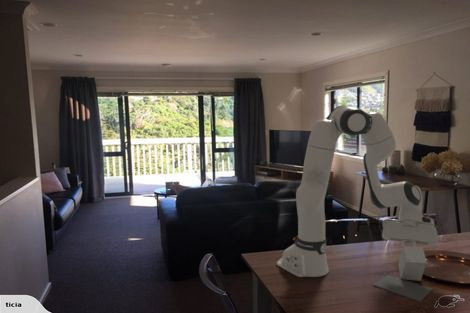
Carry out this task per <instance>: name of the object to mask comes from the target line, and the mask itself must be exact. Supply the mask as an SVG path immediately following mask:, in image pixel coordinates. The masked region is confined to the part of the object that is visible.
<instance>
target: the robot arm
mask: <svg viewBox="0 0 470 313" xmlns="http://www.w3.org/2000/svg"><path fill="white" fill-rule="evenodd" d="M342 134H345V135H348V136H353V137H354V136H359V135H360V136H361V138H362V139H363V142H364V145H365V150H366V152H365V153H364V155H363V158H362V159H363V160H362V161H363V167H364V172H365V176H366V180H367V185H368V189H369V196H370V201H371V204H372V205H374V206H375V207H376V208H378V209H380V210H382V209H386V208H388V209H389V208H391V207H399V211H398V218H397V219H395V218H394V219H393V218H392V219H391V218H386V219H384V220H383V221H382V227H383V228H382V233H381V237H382V239H383V240H387V241H392V242H399V243H401V245H402V247H403V246H407V245H406V244H411V246H413V247H417V245H422V246H428V247H429V246H430V247H436V246H437V245H438V244H439V242H438V240H439V239H438V231H437V228H436V226H435V221H434V220H435V219H433V218H430V217H427V216H424V215H423V213H422V210H423V193H422V190H421V189H420V187H419V186H417V185H415V184H413V183H411V182H410V181H407V180H405V181H399V182H398V181H397V182H393V183H388V184H383V183H381V181H380V177H379V172H378V165H380V164H382V162H385V161H386V160H387V159H389V158H390V157H391V156H392V155H393V153H394V152H395V151H396V147H397V144H396V143H397V142H396V138H395V136H394V135H393V132H392V129H391V127H390V126H389V124H388V121H387V120H386V119H385V117H384V116H383V114H381V113H380V112H378V111H371V112H365V111H364V109H361V108H359V107H355V106H353V105H338V106H336V107H334V109H332V110H331V112H330V113H329V115H327V117H325V118H324V119H322V118H321V119H319V120H316V121H315V122H314V124H313V126H312V128H311V131H310V133H309V137H308V142H307V144H306V145H307V146H306V149H305V156H304V162H303V169H302V175H301V182H300V185H299V187H298V188H297V190H296V192H295V200H296V211H297V228H298V229H297V230H298V231H297V233H298V235H296V236H295V237H293V238H292V241H294V243H293V244H292V245H290V246H289V247H287V248H285V250H284V251H283V253H282V257H281V258H280V259H278V261H276V266H278V267H280V268H281V269H283V270H285V271H287V272H288V273H291V274H292V275H294V276H296V277H297V278H298V277H299V278H303V277H305V278H306V277H308V278H309V277H310V278H318V277H323V276H325V275H326V276H327V275H328V274H329V272H330V269H329V266H328V261H327V255H326V251H327V237H326V215H325V214H326V213H325V197H326V194H327V191H328V186H329V180H330V175H331V171H332V166H333V160H334V157H335V152H336V146H337V142H338V140H339V138H340V136H342Z"/></svg>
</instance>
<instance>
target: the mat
mask: <svg viewBox="0 0 470 313" xmlns="http://www.w3.org/2000/svg"><path fill="white" fill-rule="evenodd" d="M373 286H374V287H377V288H379V289H382V290H385V291H388V292H391V293H394V294H397V295H400V296H402V297H405V298H408V299H411V300H414V301H417V302H419V303H421V302H422V301H423V300H424V299H426V298H427V296H428V295H429V294H430V293H431V292H432V291H433V290H434V289H433V288H431V287H428V286H425V285H421V284H419V283H415V282H412V281H410V280H404V279H401V277H400V278H399V277H397V276H393V275H390V274H387V275H385V276H384V277H382V278H381V279H379V280H378V281H377V282H375V283H374V284H373Z"/></svg>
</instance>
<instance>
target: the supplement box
mask: <svg viewBox="0 0 470 313" xmlns="http://www.w3.org/2000/svg"><path fill="white" fill-rule="evenodd" d="M397 264H398V270H399V276H400V279H403V280H406V281H417V282H419V281H421V280H422V278H423V274H424V272H425V268H426V266H427V259H426V255H425V251H424V247H423V246H415V247H413V246H412V245H411V246H409V245H406V246H403V245H402V248H401V252H400V256H399V260H398V263H397Z"/></svg>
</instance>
